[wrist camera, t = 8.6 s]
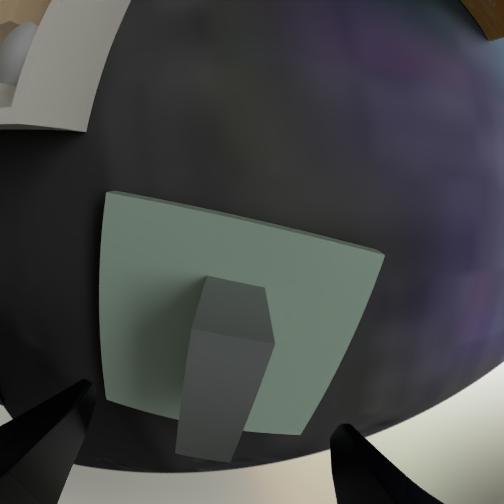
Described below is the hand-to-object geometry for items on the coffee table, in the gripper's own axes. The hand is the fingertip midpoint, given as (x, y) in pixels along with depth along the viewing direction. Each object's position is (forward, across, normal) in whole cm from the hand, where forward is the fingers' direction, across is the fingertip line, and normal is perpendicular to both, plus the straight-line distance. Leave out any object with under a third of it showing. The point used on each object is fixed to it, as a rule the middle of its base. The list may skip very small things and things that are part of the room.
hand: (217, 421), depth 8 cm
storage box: (+6, +14, -14) cm, 21 cm away
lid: (+6, 0, 0) cm, 6 cm away
